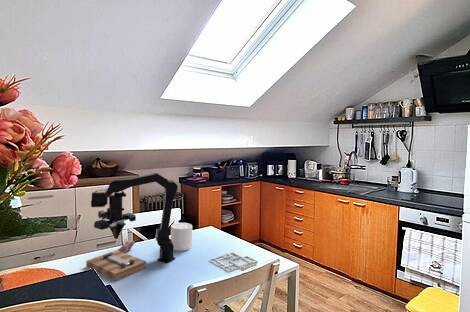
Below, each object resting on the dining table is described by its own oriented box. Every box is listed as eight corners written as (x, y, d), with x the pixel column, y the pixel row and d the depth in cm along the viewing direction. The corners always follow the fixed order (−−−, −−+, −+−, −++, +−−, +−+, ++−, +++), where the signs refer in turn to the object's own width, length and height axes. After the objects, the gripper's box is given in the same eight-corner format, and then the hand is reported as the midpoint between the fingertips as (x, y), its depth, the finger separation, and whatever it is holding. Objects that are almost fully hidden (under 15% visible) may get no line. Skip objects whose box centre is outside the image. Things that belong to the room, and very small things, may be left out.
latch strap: (130, 264, 136) (130, 262, 136) (125, 266, 134) (125, 264, 133) (112, 256, 143) (112, 254, 143) (106, 258, 141) (106, 256, 141)
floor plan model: (270, 262, 151) (270, 258, 151) (231, 276, 136) (231, 272, 135) (246, 251, 166) (246, 247, 166) (208, 261, 150) (208, 258, 150)
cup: (166, 247, 165) (166, 226, 165) (180, 241, 175) (180, 221, 174) (182, 252, 159) (182, 230, 158) (196, 245, 169) (196, 225, 168)
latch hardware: (134, 264, 137) (134, 260, 137) (123, 268, 132) (123, 264, 132) (112, 255, 146) (112, 251, 146) (101, 259, 141) (101, 255, 141)
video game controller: (122, 258, 153) (127, 247, 152) (115, 253, 154) (120, 242, 153) (132, 251, 163) (137, 240, 162) (125, 246, 164) (130, 235, 163)
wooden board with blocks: (146, 267, 140) (146, 261, 140) (116, 280, 127) (116, 274, 127) (116, 255, 152) (116, 250, 152) (86, 267, 139) (86, 260, 139)
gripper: (121, 200, 152) (122, 230, 153) (86, 207, 136) (87, 240, 137) (136, 203, 146) (136, 234, 147) (101, 211, 130) (101, 246, 131)
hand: (116, 238), depth 141 cm, fingers closed
